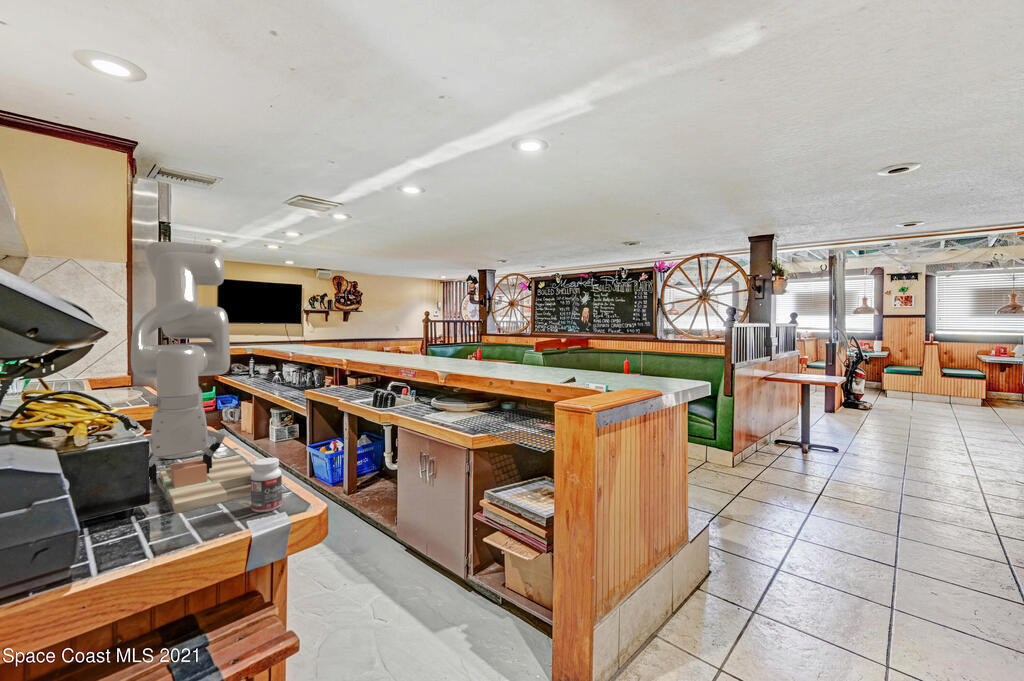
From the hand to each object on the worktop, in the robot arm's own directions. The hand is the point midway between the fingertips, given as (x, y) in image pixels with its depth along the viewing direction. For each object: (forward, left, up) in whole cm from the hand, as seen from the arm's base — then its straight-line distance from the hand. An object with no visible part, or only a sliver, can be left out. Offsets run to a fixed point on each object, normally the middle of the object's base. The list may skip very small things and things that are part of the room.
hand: (181, 477), depth 102 cm
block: (0, +2, -1) cm, 2 cm away
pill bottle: (+22, +12, -4) cm, 25 cm away
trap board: (-1, +5, -3) cm, 6 cm away
